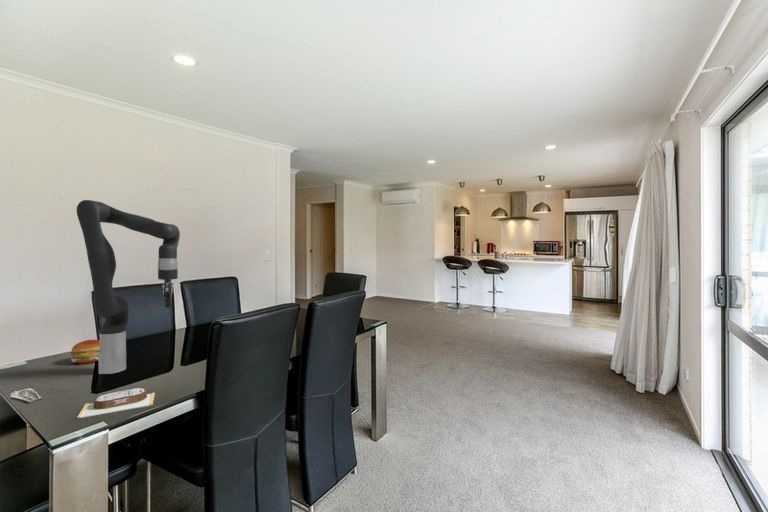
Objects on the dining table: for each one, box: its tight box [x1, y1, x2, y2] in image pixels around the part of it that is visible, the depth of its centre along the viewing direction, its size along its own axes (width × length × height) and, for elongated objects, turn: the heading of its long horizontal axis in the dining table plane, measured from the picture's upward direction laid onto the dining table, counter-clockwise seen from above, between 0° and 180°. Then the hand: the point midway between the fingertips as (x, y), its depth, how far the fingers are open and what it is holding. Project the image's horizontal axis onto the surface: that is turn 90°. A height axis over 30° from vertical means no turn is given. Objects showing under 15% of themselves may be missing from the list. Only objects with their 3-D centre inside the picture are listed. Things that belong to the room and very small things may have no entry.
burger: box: [70, 339, 100, 364], centre depth 169 cm, size 13×14×10 cm
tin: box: [93, 387, 148, 409], centre depth 123 cm, size 15×3×8 cm
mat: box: [76, 392, 156, 420], centre depth 121 cm, size 20×11×1 cm, turn 119°
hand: (168, 307), depth 157 cm, fingers closed
